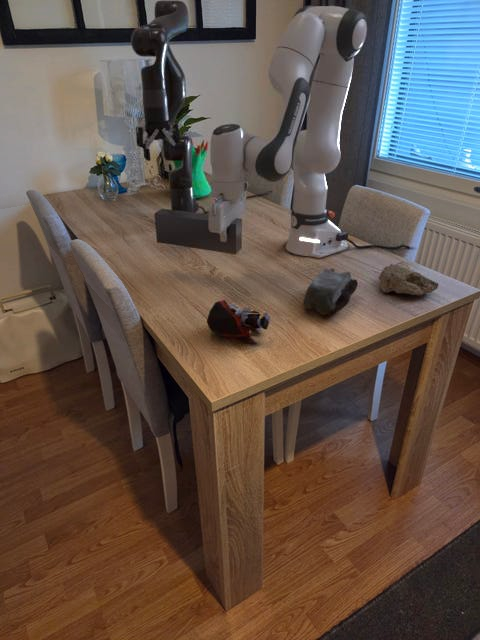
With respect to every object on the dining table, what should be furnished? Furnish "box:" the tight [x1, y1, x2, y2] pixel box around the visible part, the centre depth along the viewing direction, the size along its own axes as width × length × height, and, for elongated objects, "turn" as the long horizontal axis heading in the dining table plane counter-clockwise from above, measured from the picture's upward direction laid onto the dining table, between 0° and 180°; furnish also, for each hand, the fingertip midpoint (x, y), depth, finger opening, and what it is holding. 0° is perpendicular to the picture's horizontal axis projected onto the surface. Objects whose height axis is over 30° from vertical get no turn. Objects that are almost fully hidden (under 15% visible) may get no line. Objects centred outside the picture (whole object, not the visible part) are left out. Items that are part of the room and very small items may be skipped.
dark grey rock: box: [302, 268, 359, 317], centre depth 123 cm, size 18×11×8 cm, turn 152°
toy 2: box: [206, 299, 271, 345], centre depth 109 cm, size 12×9×15 cm
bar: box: [153, 208, 243, 255], centre depth 131 cm, size 26×5×9 cm, turn 70°
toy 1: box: [168, 137, 212, 200], centre depth 210 cm, size 20×20×25 cm
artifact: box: [378, 261, 439, 296], centre depth 132 cm, size 18×7×15 cm
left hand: (160, 158), depth 147 cm, fingers open, 8 cm apart
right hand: (228, 237), depth 129 cm, fingers closed on bar, 5 cm apart
